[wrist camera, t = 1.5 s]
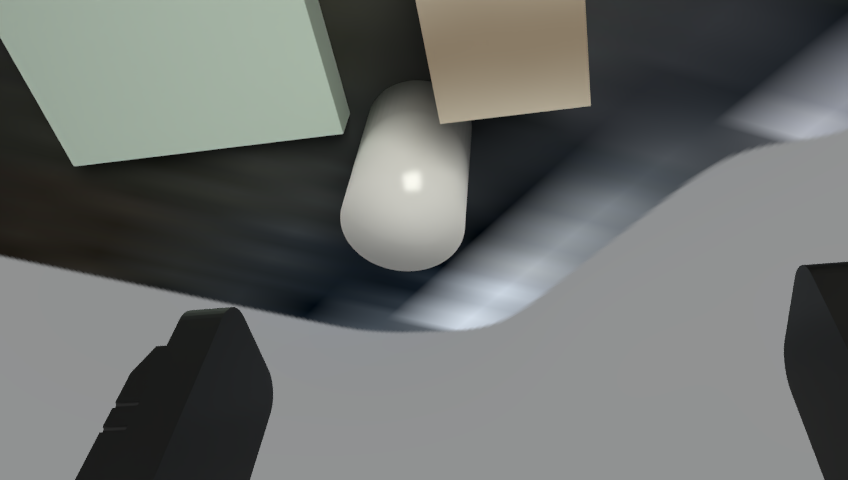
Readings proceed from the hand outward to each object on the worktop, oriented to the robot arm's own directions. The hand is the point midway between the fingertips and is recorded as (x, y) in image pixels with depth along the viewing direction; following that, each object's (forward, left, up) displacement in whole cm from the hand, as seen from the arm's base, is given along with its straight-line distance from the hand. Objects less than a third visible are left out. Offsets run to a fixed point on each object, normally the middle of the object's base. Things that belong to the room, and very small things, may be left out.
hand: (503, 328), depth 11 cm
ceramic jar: (+6, -4, -17) cm, 18 cm away
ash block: (0, 0, -17) cm, 17 cm away
